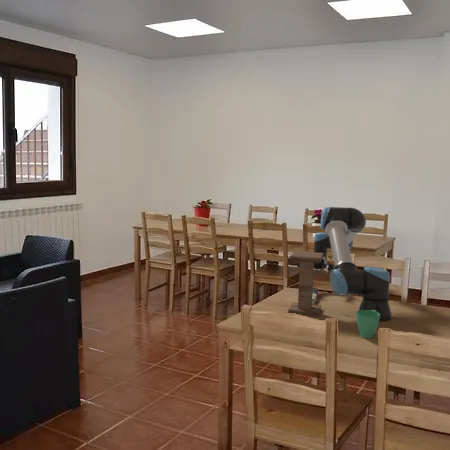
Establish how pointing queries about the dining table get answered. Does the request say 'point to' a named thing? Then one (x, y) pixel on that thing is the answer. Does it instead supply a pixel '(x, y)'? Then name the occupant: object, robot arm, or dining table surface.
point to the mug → (367, 322)
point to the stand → (306, 283)
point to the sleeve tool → (314, 295)
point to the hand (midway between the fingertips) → (313, 269)
